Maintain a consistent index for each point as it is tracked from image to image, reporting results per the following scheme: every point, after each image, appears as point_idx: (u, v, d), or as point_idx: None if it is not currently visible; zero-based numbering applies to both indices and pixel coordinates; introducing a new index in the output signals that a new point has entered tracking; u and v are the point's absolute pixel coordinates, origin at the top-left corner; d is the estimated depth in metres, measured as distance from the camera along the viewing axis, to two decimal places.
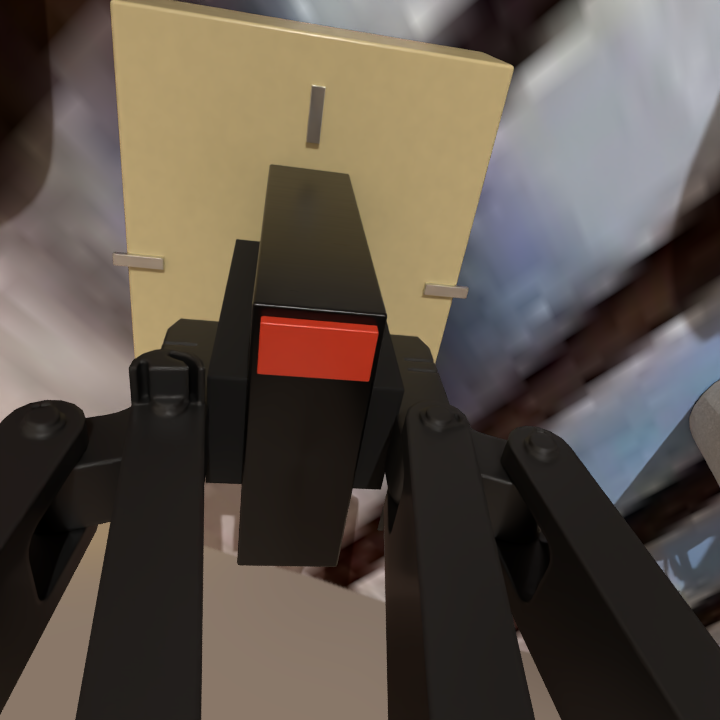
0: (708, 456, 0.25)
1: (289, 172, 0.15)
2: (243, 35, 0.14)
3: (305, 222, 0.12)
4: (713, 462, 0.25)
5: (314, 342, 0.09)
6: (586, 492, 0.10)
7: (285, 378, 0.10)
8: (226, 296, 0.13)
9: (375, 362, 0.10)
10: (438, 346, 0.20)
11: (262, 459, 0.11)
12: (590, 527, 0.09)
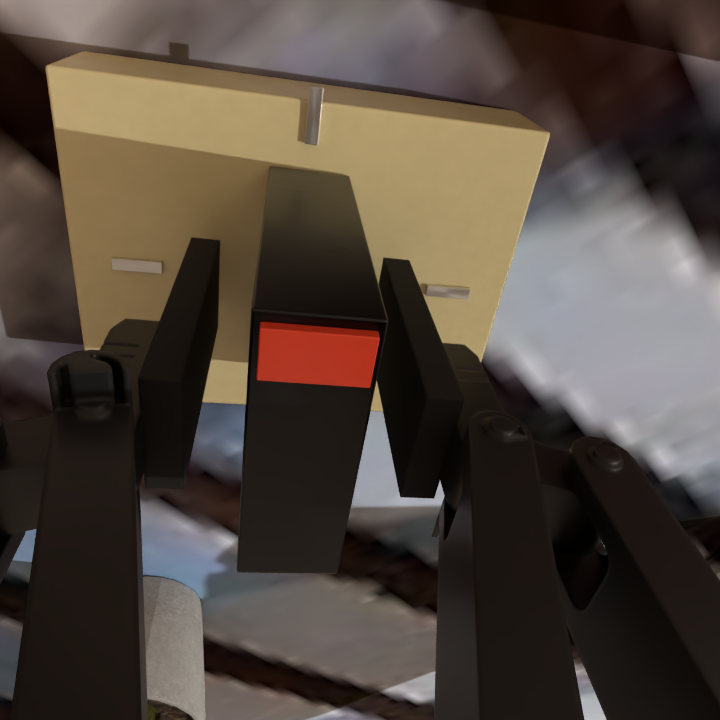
0: None
1: (289, 173, 0.15)
2: (510, 237, 0.18)
3: (304, 226, 0.12)
4: None
5: (314, 348, 0.09)
6: (649, 505, 0.10)
7: (285, 384, 0.10)
8: (171, 295, 0.13)
9: (376, 368, 0.10)
10: (224, 402, 0.20)
11: (261, 466, 0.11)
12: (652, 539, 0.09)
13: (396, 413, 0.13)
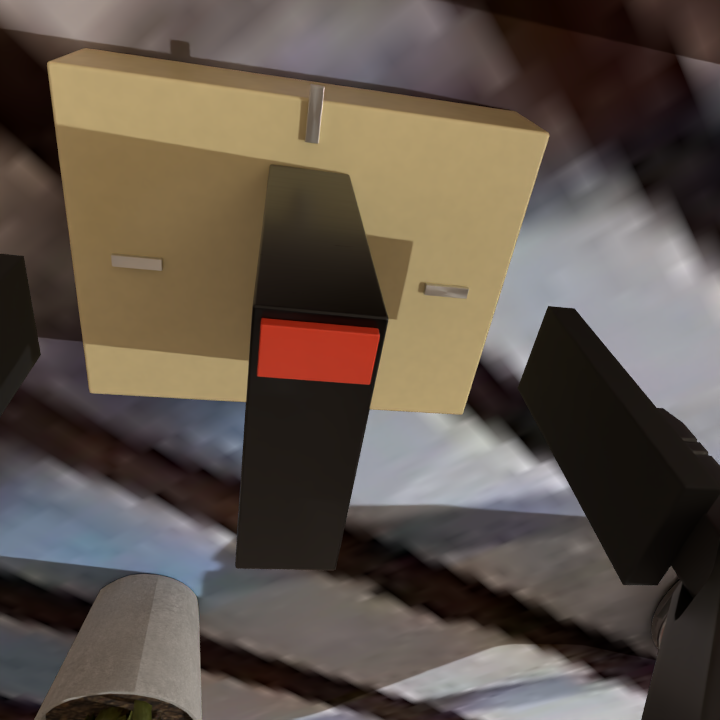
0: (109, 611, 0.27)
1: (290, 172, 0.15)
2: (509, 237, 0.18)
3: (305, 224, 0.12)
4: (109, 619, 0.27)
5: (315, 345, 0.09)
6: None
7: (285, 381, 0.10)
8: None
9: (376, 365, 0.10)
10: (222, 399, 0.20)
11: (261, 462, 0.11)
12: None
13: (602, 487, 0.12)
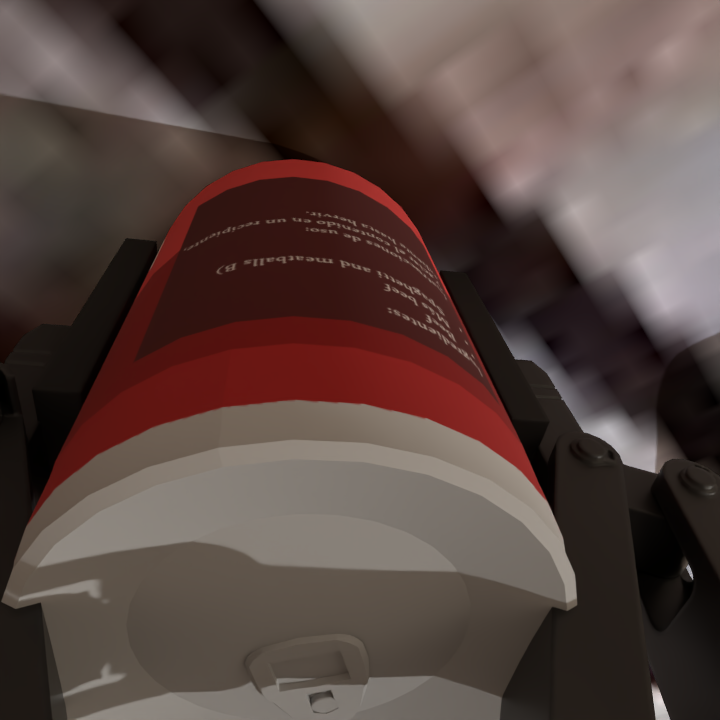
0: None
1: None
2: None
3: None
4: None
5: None
6: None
7: None
8: (90, 300, 0.12)
9: None
10: None
11: None
12: None
13: None
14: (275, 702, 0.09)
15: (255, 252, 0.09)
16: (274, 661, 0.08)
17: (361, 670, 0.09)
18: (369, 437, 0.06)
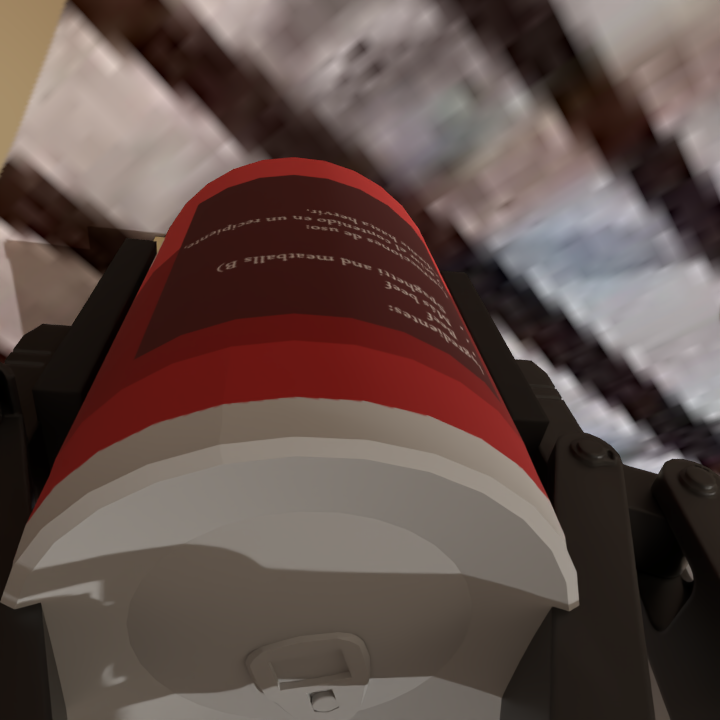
0: None
1: None
2: None
3: None
4: None
5: None
6: None
7: None
8: (90, 300, 0.12)
9: None
10: None
11: None
12: None
13: None
14: (276, 701, 0.09)
15: (255, 250, 0.09)
16: (275, 659, 0.08)
17: (362, 669, 0.09)
18: (370, 432, 0.06)
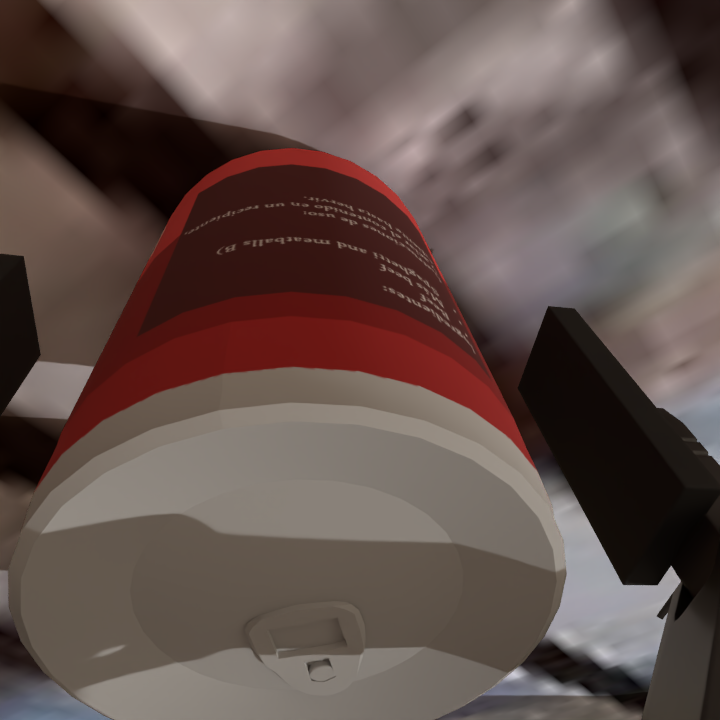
0: None
1: None
2: None
3: None
4: None
5: None
6: None
7: None
8: None
9: None
10: None
11: None
12: None
13: (602, 487, 0.12)
14: (274, 670, 0.09)
15: (255, 234, 0.10)
16: (273, 628, 0.09)
17: (358, 638, 0.09)
18: (363, 400, 0.06)
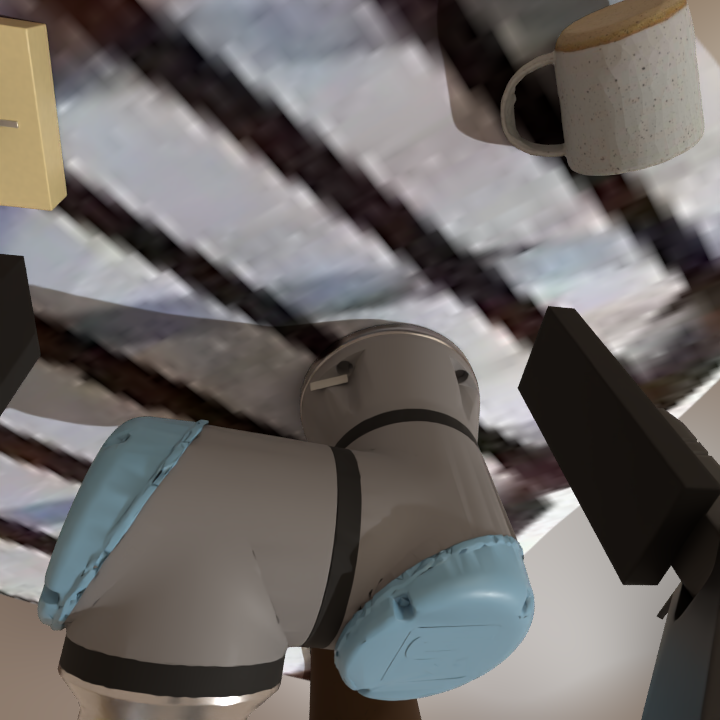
0: None
1: None
2: (29, 90, 0.32)
3: None
4: None
5: None
6: None
7: None
8: None
9: None
10: None
11: None
12: None
13: (602, 487, 0.12)
14: None
15: None
16: None
17: None
18: None
